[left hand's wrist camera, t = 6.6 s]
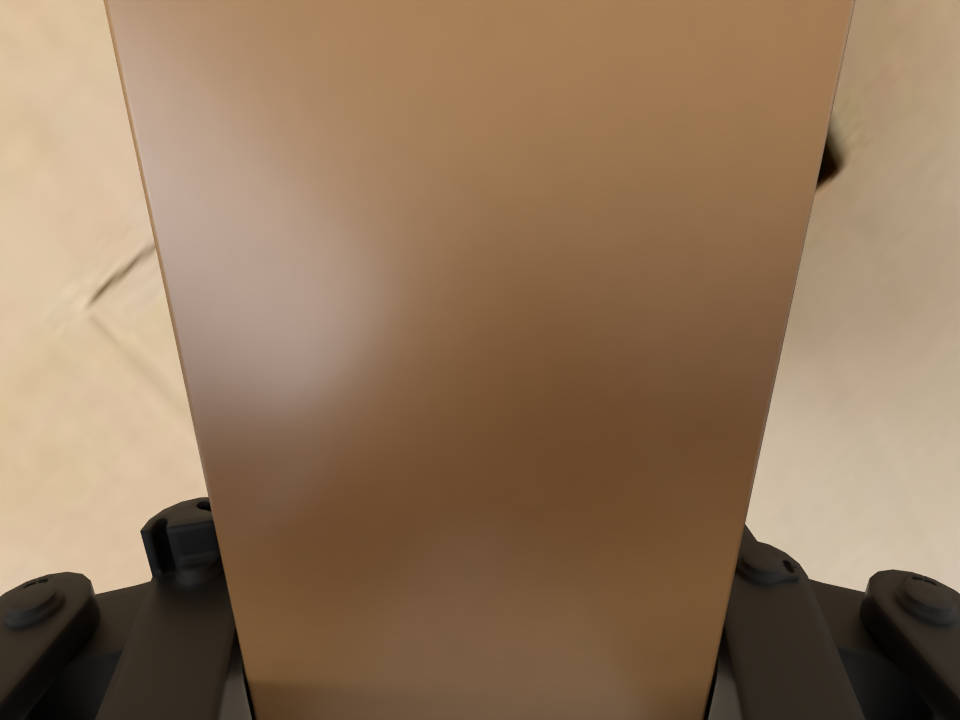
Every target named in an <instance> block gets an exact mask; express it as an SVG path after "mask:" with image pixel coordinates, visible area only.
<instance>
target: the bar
mask: <svg viewBox="0 0 960 720" xmlns="http://www.w3.org/2000/svg"><path fill="white" fill-rule="evenodd" d="M104 4H105V9H106V13H107V18H108V23H109V28H110V32H111V37H112V42H113V47H114V51H115V56H116V61H117V66H118V70H119V75H120V80H121V84H122V89H123V94H124V99H125V103H126V108H127V113H128V118H129V122H130V127H131V132H132V137H133V141H134V146H135V151H136V155H137V160H138V165H139V170H140V174H141V179H142V184H143V189H144V193H145V198H146V203H147V208H148V212H149V217H150V222H151V226H152V231H153V236H154V241H155V245H156V250H157V255H158V260H159V264H160V269H161V274H162V279H163V283H164V288H165V293H166V297H167V302H168V307H169V312H170V316H171V321H172V326H173V331H174V335H175V340H176V345H177V350H178V354H179V359H180V364H181V368H182V373H183V378H184V383H185V387H186V392H187V397H188V402H189V406H190V411H191V416H192V421H193V425H194V430H195V435H196V439H197V444H198V449H199V454H200V458H201V463H202V468H203V473H204V477H205V482H206V487H207V492H208V496H209V501H210V506H211V510H212V515H213V520H214V525H215V529H216V534H217V539H218V544H219V548H220V553H221V558H222V563H223V567H224V572H225V577H226V581H227V586H228V591H229V596H230V600H231V605H232V610H233V615H234V619H235V624H236V629H237V634H238V638H239V643H240V648H241V652H242V657H243V662H244V667H245V671H246V676H247V681H248V686H249V690H250V695H251V700H252V705H253V709H254V714H255V719H256V720H704V715H705V711H706V706H707V701H708V696H709V692H710V687H711V682H712V677H713V673H714V668H715V663H716V658H717V654H718V649H719V644H720V639H721V635H722V630H723V625H724V621H725V616H726V611H727V606H728V602H729V597H730V592H731V587H732V583H733V578H734V573H735V568H736V564H737V559H738V554H739V549H740V545H741V540H742V535H743V530H744V526H745V521H746V516H747V511H748V507H749V502H750V497H751V492H752V488H753V483H754V478H755V474H756V469H757V464H758V459H759V455H760V450H761V445H762V440H763V436H764V431H765V426H766V421H767V417H768V412H769V407H770V402H771V398H772V393H773V388H774V383H775V379H776V374H777V369H778V364H779V360H780V355H781V350H782V345H783V341H784V336H785V331H786V327H787V322H788V317H789V312H790V308H791V303H792V298H793V293H794V289H795V284H796V279H797V274H798V270H799V265H800V260H801V255H802V251H803V246H804V241H805V236H806V232H807V227H808V222H809V217H810V213H811V208H812V203H813V198H814V194H815V189H816V184H817V179H818V175H819V170H820V165H821V161H822V156H823V151H824V146H825V142H826V137H827V132H828V127H829V123H830V118H831V113H832V108H833V104H834V99H835V94H836V89H837V85H838V80H839V75H840V70H841V66H842V61H843V56H844V51H845V47H846V42H847V37H848V32H849V28H850V23H851V18H852V14H853V9H854V4H855V0H104Z"/></svg>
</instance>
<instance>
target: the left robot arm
mask: <svg viewBox="0 0 960 720" xmlns="http://www.w3.org/2000/svg"><path fill="white" fill-rule="evenodd" d="M140 532H141V535H142V539H143V543H144V546H145V550H146V554H147V557H148V561H149V565H150V569H151V572H152V576H153V577H152V579H151V581H150V582H146V583H143V584H140V585H136V586H131V587H127V588H123V589H118V590H114V591H109V592H105V593H100V594H96V595H95V593H94V589H93V586H92V583H91V581H90V580H89V579H88V578H87V577H85V576H84V575H83V574H79V573H72V572H63V573H56V574H49V575H45V576H42V577H39V578H35V579H33V580H30V581H27V582H25V583H23V584H21V585H19V586H18V587H16V588H14V589H12V590H10V591H8V592H6V593H5V594H3V595H2V596H1V597H0V720H256V719H255V714H254V709H253V705H252V700H251V695H250V690H249V686H248V681H247V676H246V671H245V667H244V662H243V657H242V652H241V648H240V643H239V638H238V634H237V629H236V624H235V619H234V615H233V610H232V605H231V600H230V596H229V591H228V586H227V581H226V577H225V572H224V567H223V563H222V558H221V553H220V548H219V544H218V539H217V534H216V529H215V525H214V520H213V515H212V510H211V506H210V501H209V497H202V498H196V499H192V500H187V501H183V502H180V503H178V504H175V505H173V506H171V507H169V508H166V509H164V510H162V511H161V512H160V513H158V514H157V515H155V516H154V517H152V518H151V519H150V520H149V521H148V522H147V523H146V524H145V526H144V527H143V528H142V529H141V531H140ZM704 720H960V594H959V593H958V592H957V591H955V590H953V589H951V588H950V587H948V586H946V585H944V584H942V583H940V582H938V581H936V580H934V579H931V578H929V577H926V576H922V575H920V574H916V573H913V572H907V571H900V570H886V571H879V572H877V573H876V574H874V575H873V576H872V577H871V578H870V579H869V582H868V585H867V588H866V591H865V592H861V591H857V590H852V589H848V588H843V587H839V586H834V585H830V584H825V583H821V582H818V581H814V580H811V579H809V578H808V576H807V574H806V573H805V571H804V570H803V568H802V567H801V566H800V564H799V563H798V562H797V561H795V560H794V559H793V558H791V557H790V556H789V555H788V554H786V553H785V552H783V551H781V550H779V549H777V548H775V547H773V546H771V545H769V544H765V543H761V542H758V541H757V540H756V539H755V537H754V536H753V535H752V533H751V532H750V530H749V529H748V528H747V526H746V525H745V526H744V530H743V535H742V540H741V545H740V549H739V554H738V559H737V564H736V568H735V573H734V578H733V583H732V587H731V592H730V597H729V602H728V606H727V611H726V616H725V621H724V625H723V630H722V635H721V639H720V644H719V649H718V654H717V658H716V663H715V668H714V673H713V677H712V682H711V687H710V692H709V696H708V701H707V706H706V711H705V715H704Z"/></svg>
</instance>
